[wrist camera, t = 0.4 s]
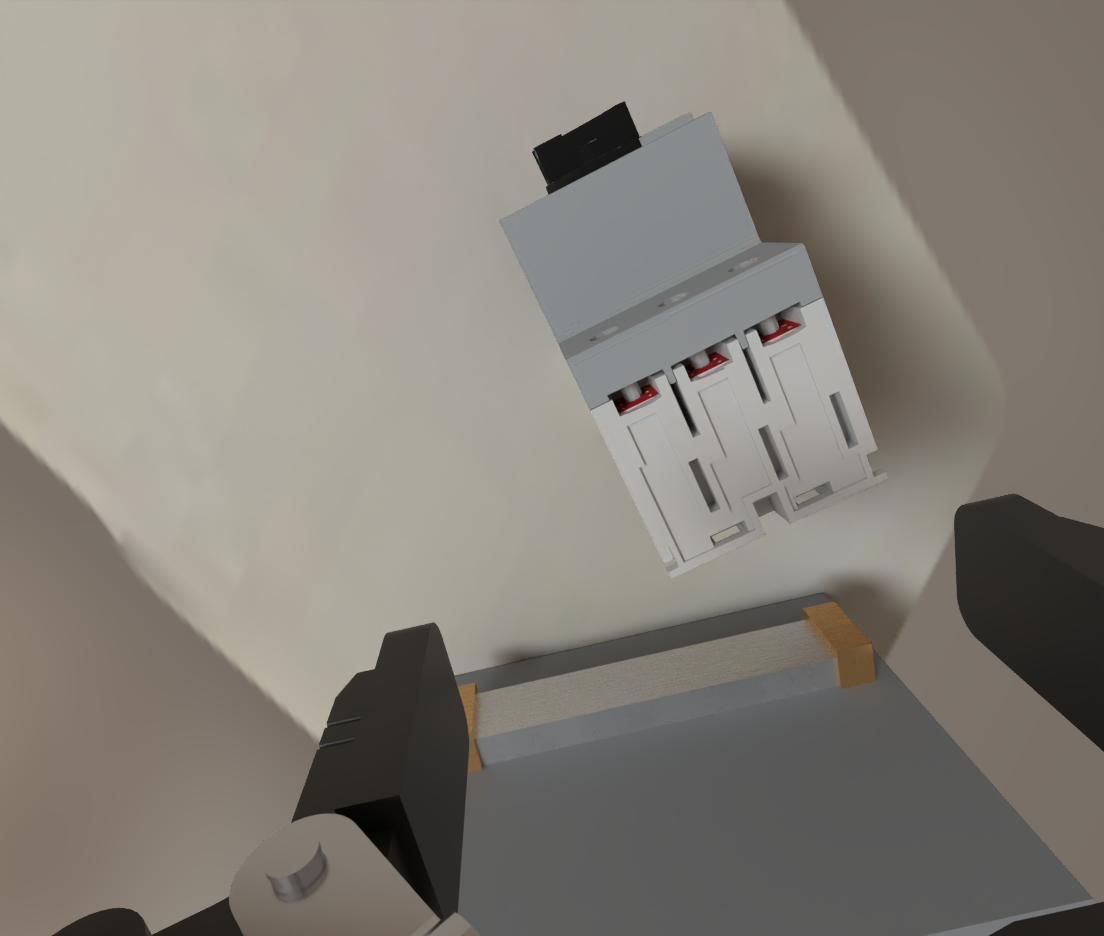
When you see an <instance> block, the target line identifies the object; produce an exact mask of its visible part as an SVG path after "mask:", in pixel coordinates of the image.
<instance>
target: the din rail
mask: <svg viewBox="0 0 1104 936" xmlns="http://www.w3.org/2000/svg"><path fill="white" fill-rule="evenodd" d="M803 614H804V620H802V621H797V622H793V623H788V624H784V625H780V626H775V627H771V628H766V629H762V630H757V631H753V632H749V633H744V634H740V635H735V636H731V637H726V638H722V639H717V640H713V641H709V642H704V643H700V644H695V645H691V646H686V647H682V648H678V649H673V650H669V651H664V652H660V653H655V654H651V655H647V656H642V657H638V658H633V659H629V660H624V661H620V662H616V663H611V664H607V665H602V666H598V667H593V668H589V669H585V670H580V671H576V672H571V673H567V674H562V675H558V676H554V677H549V678H545V679H540V680H536V681H531V682H527V683H523V684H518V685H514V686H509V687H505V688H500V689H496V690H491V691H487V692H483V693H478V689H477V686H476V683H470V684H466V685H462V686H457V687H458V690H459V693H460V696H461V699H462V703H463V706H464V710H465V714H466V719H467V725H468V733H469V759H468V772H473V771H477V770H482V766H483V765H487V764H492V763H496V762H501V761H505V760H510V759H514V758H519V757H523V756H528V755H532V754H537V753H541V752H545V751H550V750H554V749H559V748H563V747H568V746H572V745H577V744H581V743H586V742H590V741H595V740H599V739H603V738H608V737H612V736H617V735H621V734H626V733H630V732H635V731H639V730H644V729H648V728H653V727H657V726H661V725H666V724H670V723H675V722H679V721H684V720H688V719H693V718H697V717H702V716H706V715H711V714H715V713H719V712H724V711H728V710H733V709H737V708H742V707H746V706H751V705H755V704H760V703H764V702H769V701H773V700H777V699H782V698H786V697H791V696H795V695H800V694H804V693H809V692H813V691H818V690H822V689H827V688H831V687H836V686H839V687H840V688H841V689H843V688H848V687H852V686H857V685H861V684H866V683H870V682H874V681H876V679H875V669H874V659H873V649H872V643H871V642H870V641H869V640H868V639H867V638H866V636H865V635H864V634H863V633H862V632H861V631H860V630H859V629H858V627H857V626H856V625H855V624H854V623H853V622H852V621H851V620H850V618H849V617H848V616H847V615H846V614H845V613H844V612H843V611H842V610H841V608H840V607H839V606H838V605H837V604H836V603H835V602H834V601H833V602H829V603H825V604H820V605H816V606H811V607H807V608H803Z"/></svg>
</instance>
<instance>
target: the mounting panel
mask: <svg viewBox="0 0 1104 936" xmlns="http://www.w3.org/2000/svg"><path fill="white" fill-rule="evenodd" d="M829 602H831V601H830V600H829V598H828V597H827V596H826V595H825V594H824V593H820V594H815V595H811V596H806V597H802V598H797V599H793V600H789V601H784V602H780V603H775V604H771V605H767V606H762V607H758V608H753V609H749V610H744V611H740V612H736V613H731V614H727V615H722V616H718V617H713V618H709V619H705V620H700V621H696V622H691V623H687V624H683V625H678V626H674V627H669V628H665V629H660V630H656V631H652V632H647V633H643V634H638V635H634V636H629V637H625V638H621V639H616V640H612V641H607V642H603V643H599V644H594V645H590V646H585V647H581V648H576V649H572V650H568V651H563V652H559V653H554V654H550V655H545V656H541V657H537V658H532V659H528V660H523V661H519V662H515V663H510V664H506V665H501V666H497V667H492V668H488V669H484V670H479V671H475V672H470V673H466V674H461V675H457V676H454V677H455V680H456V683H457V686H462V685H466V684H470V683H476V686H477V689H478V693H483V692H487V691H491V690H496V689H500V688H505V687H509V686H514V685H518V684H523V683H527V682H531V681H536V680H540V679H545V678H549V677H554V676H558V675H562V674H567V673H571V672H576V671H580V670H585V669H589V668H593V667H598V666H602V665H607V664H611V663H616V662H620V661H624V660H629V659H633V658H638V657H642V656H647V655H651V654H655V653H660V652H664V651H669V650H673V649H678V648H682V647H686V646H691V645H695V644H700V643H704V642H709V641H713V640H717V639H722V638H726V637H731V636H735V635H740V634H744V633H749V632H753V631H757V630H762V629H766V628H771V627H775V626H780V625H784V624H788V623H793V622H797V621H802V620H804V614H803V608H807V607H811V606H816V605H820V604H825V603H829ZM872 649H873V648H872ZM873 659H874V669H875V679H876V681H874V682H870V683H866V684H861V685H857V686H852V687H848V688H843V689H841V688H840V687H839V686H836V687H831V688H827V689H822V690H818V691H813V692H809V693H804V694H800V695H795V696H791V697H786V698H782V699H777V700H773V701H769V702H764V703H760V704H755V705H751V706H746V707H742V708H737V709H733V710H728V711H724V712H719V713H715V714H711V715H706V716H702V717H697V718H693V719H688V720H684V721H679V722H675V723H670V724H666V725H661V726H657V727H653V728H648V729H644V730H639V731H635V732H630V733H626V734H621V735H617V736H612V737H608V738H603V739H599V740H595V741H590V742H586V743H581V744H577V745H572V746H568V747H563V748H559V749H554V750H550V751H545V752H541V753H537V754H532V755H528V756H523V757H519V758H514V759H510V760H505V761H501V762H496V763H492V764H487V765H483V766H482V770H477V771H473V772H468V774H467V788H466V802H465V817H464V831H463V845H462V860H461V874H460V888H459V903H458V914H459V915H460V916H462V917H463V918H464V919H465V920H466V921H467V922H468V923H469V924H470V925H471V926H472V927H473V928H474V929H475V930H476V931H477V932H478V933H479V935H480V936H989V935H991V934H992V933H994V932H996V931H998V930H999V929H1001V928H1003V927H1005V926H1007V925H1008V924H1010V923H1012V922H1014V921H1018V920H1023V919H1027V918H1032V917H1036V916H1041V915H1046V914H1050V913H1055V912H1060V911H1064V910H1069V909H1073V908H1078V907H1083V906H1087V905H1092V904H1094V899H1093V897H1092V896H1091V895H1090V894H1089V893H1088V892H1087V891H1086V890H1085V889H1084V887H1083V886H1082V885H1081V884H1080V883H1079V882H1078V881H1077V879H1076V878H1075V877H1074V876H1073V875H1072V874H1071V873H1070V871H1069V870H1068V869H1067V868H1066V867H1065V866H1064V865H1063V864H1062V863H1061V861H1060V860H1059V859H1058V858H1057V857H1056V856H1055V855H1054V853H1053V852H1052V851H1051V850H1050V849H1049V848H1048V847H1047V845H1046V844H1045V843H1044V842H1043V841H1042V840H1041V839H1040V837H1038V835H1037V834H1036V833H1035V832H1034V831H1033V830H1032V828H1031V827H1030V826H1029V825H1028V824H1027V823H1026V822H1025V821H1024V819H1023V818H1022V817H1021V816H1020V815H1019V814H1018V813H1017V811H1016V810H1015V809H1014V808H1013V807H1012V806H1011V805H1010V804H1009V802H1008V801H1007V800H1006V799H1005V798H1004V797H1003V796H1002V794H1001V793H1000V792H999V791H998V790H997V789H996V788H995V786H994V785H993V784H992V783H991V782H990V781H989V780H988V779H987V777H985V775H984V774H983V773H982V772H981V771H980V770H979V768H978V767H977V766H976V765H975V764H974V763H973V762H972V760H971V759H970V758H969V757H968V756H967V755H966V754H965V753H964V751H963V750H962V749H961V748H960V747H959V746H958V745H957V743H956V742H955V741H954V740H953V739H952V738H951V737H950V736H949V734H948V733H947V732H946V731H945V730H944V729H943V728H942V726H941V725H940V724H939V723H938V722H937V721H936V720H935V719H934V717H933V716H932V715H931V714H930V713H929V712H928V711H927V709H926V708H925V707H924V706H923V705H922V704H921V703H920V702H919V701H918V699H917V698H916V697H915V696H914V695H913V694H912V693H911V691H910V690H909V689H908V688H907V687H906V686H905V685H904V683H903V682H902V681H901V680H900V679H899V678H898V677H897V676H896V675H895V673H894V672H893V671H892V670H891V669H890V668H889V666H888V665H887V664H886V663H885V662H884V661H883V660H882V659H881V657H880V656H879V655H878V654H877V653H876V652H875V651H874V649H873Z"/></svg>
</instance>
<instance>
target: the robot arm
mask: <svg viewBox="0 0 1104 936" xmlns="http://www.w3.org/2000/svg"><path fill="white" fill-rule="evenodd" d="M954 531H955V557H956V581H957V582H956V583H957V600H958V605H959V609H960V612H961V614H962V617H963V619H964V621H965V623H966V625H967V627H968V628H969V630H970V631H971V633H972V634H973V635H974V636H975V637H976V638H977V639H978V640H979V641H980V642H981V643H982V644H984V645H985V646H986V647H987V648H988V649H989V650H990V651H991V652H992V653H993V654H995V655H996V656H997V657H998V658H999V659H1000V660H1001V661H1002V662H1004V663H1005V664H1006V665H1007V666H1008V667H1009V668H1010V669H1012V670H1013V671H1014V672H1015V673H1016V674H1017V675H1019V677H1020V678H1022V679H1023V680H1024V681H1025V682H1026V683H1027V684H1028V685H1030V686H1031V687H1032V688H1033V689H1034V690H1035V691H1036V692H1037V693H1038V694H1040V695H1041V696H1042V697H1043V698H1044V699H1045V700H1046V701H1048V702H1049V703H1050V704H1051V705H1052V706H1053V707H1054V708H1055V709H1056V710H1058V711H1059V712H1060V713H1061V714H1062V715H1063V716H1064V717H1066V718H1067V719H1068V720H1069V721H1070V722H1071V723H1072V724H1073V725H1074V726H1075V727H1077V728H1078V729H1079V730H1080V731H1081V732H1082V733H1083V734H1085V735H1086V736H1087V737H1088V738H1089V739H1090V740H1091V741H1092V742H1094V743H1095V744H1096V745H1097V746H1098V747H1099V748H1100V749H1101V750H1102V751H1104V528H1101V527H1098V526H1094V525H1090V524H1086V523H1083V522H1079V521H1075V520H1071V519H1067V518H1064V517H1059V516H1057V515H1055V514H1053V513H1052V512H1050V511H1048V510H1046V509H1044V508H1042V507H1040V506H1038V505H1037V504H1035V503H1033V502H1031V501H1029V500H1027V499H1025V498H1024V497H1022V496H1019V495H1016V494H1009V495H1004V496H1000V497H995V498H991V499H987V500H982V501H978V502H974V503H969V504H964V505H962V506H960V507H959V508H958V509H957V511H956V514H955V519H954ZM319 746H320V749H319V750H317V752H316V755H315V758H314V760H313V763H312V766H311V769H310V771H309V774H308V777H307V780H306V783H305V786H304V788H303V791H302V794H301V797H300V799H299V802H298V805H297V808H296V811H295V813H294V816H293V819H292V822H291V824H288V825H286V826H285V827H283V828H281V829H280V830H278V831H276V832H275V833H273V834H272V835H271V836H269V837H268V838H267V839H265V840H264V841H263V842H262V843H261V844H260V845H258V846H257V847H256V848H255V849H254V850H253V852H251V854H250V855H249V856H248V857H247V858H246V860H245V861H244V862H243V864H242V865H241V867H240V868H239V870H238V871H237V873H236V875H235V877H234V880H233V882H232V885H231V889H230V894H229V897H227V898H226V899H224V900H222V901H220V902H218V903H216V904H215V905H213V906H211V907H209V908H206V909H205V910H202V911H200V912H198V913H196V914H194V915H192V916H190V917H188V918H186V919H184V920H182V921H180V922H178V923H175V924H174V925H171V926H169V927H167V928H165V929H163V930H161V931H159V932H157V933H155V934H153V935H151V933H150V931H149V929H148V927H147V925H146V924H145V922H144V920H143V918H142V917H141V916H140V915H139V914H138V913H137V912H135V911H133V910H131V909H125V908H112V909H107V910H102V911H99V912H96V913H93V914H90V915H88V916H86V917H83V918H81V919H79V920H77V921H75V922H74V923H71V924H70V925H68V926H66V927H64V928H63V929H61V930H60V931H58V932H57V933H55V934H54V935H52V936H480V935H479V933H478V932H477V931H476V930H475V929H474V928H473V927H472V926H471V925H470V924H469V923H468V922H467V921H466V920H465V919H464V918H463V917H462V916H460V915H459V914H458V903H459V888H460V874H461V860H462V845H463V831H464V817H465V802H466V788H467V774H468V759H469V733H468V725H467V719H466V714H465V710H464V706H463V703H462V699H461V696H460V693H459V690H458V687H457V683H456V680H455V677H454V674H453V670H452V667H451V664H450V661H449V658H448V654H447V651H446V648H445V645H444V642H443V638H442V635H441V633H440V630H439V628H438V626H437V625H436V624H435V623H429V624H425V625H420V626H416V627H411V628H407V629H402V630H398V631H393V632H389V633H386V635H385V637H384V640H383V643H382V647H381V650H380V653H379V657H378V660H377V664H376V667H375V669H373V670H369V671H364V672H360V673H357V674H356V675H355V676H354V677H353V678H352V679H351V681H350V682H349V683H348V684H347V685H346V686H345V688H344V689H343V690H342V691H341V692H340V693H339V695H338V696H337V697H336V698H335V701H334V704H333V707H332V710H331V712H330V715H329V718H328V721H327V728H325V729H324V732H323V735H322V738H321V740H320V743H319ZM989 936H1104V902H1101V903H1097V904H1092V905H1087V906H1083V907H1078V908H1073V909H1069V910H1064V911H1060V912H1055V913H1050V914H1046V915H1041V916H1036V917H1032V918H1027V919H1023V920H1018V921H1014V922H1012V923H1010V924H1008V925H1007V926H1005V927H1003V928H1001V929H999V930H998V931H996V932H994V933H992V934H991V935H989Z"/></svg>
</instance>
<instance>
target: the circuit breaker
mask: <svg viewBox="0 0 1104 936" xmlns="http://www.w3.org/2000/svg"><path fill="white" fill-rule="evenodd" d="M533 149H534V151H533V152H532V153H533V155H534V157H535V159H536V161H537V163H538V166H539V168H540V170H541V172H542V174H543V176H544V178H545V180H546V182H547V184H548V186H547V187H546V189H547V191H548V194H549V195H547V196H546V197H544V198H542V199H540V200H538V201H536V202H534V203H532V204H530V205H528V206H526V207H524V208H522V209H520V210H518V211H516V212H515V213H513V214H511V215H509V216H507V217H505V218H503V219H501V220H499V222H500V224H501V226H502V228H503V230H504V232H505V234H506V236H507V238H508V240H509V242H510V244H511V247H512V249H513V251H514V253H515V255H516V257H517V259H518V261H519V263H520V265H521V267H522V269H523V271H524V273H525V276H526V278H527V280H528V282H529V284H530V286H531V288H532V290H533V292H534V294H535V296H536V298H537V300H538V302H539V305H540V307H541V309H542V311H543V313H544V315H545V317H546V319H547V321H548V323H549V325H550V327H551V329H552V331H553V334H554V336H555V338H556V340H557V342H558V344H559V346H560V348H561V351H562V353H563V355H564V357H565V359H566V362H567V364H568V366H569V368H570V370H571V372H572V374H573V376H574V378H575V380H576V382H577V384H578V386H579V389H580V391H581V393H582V395H583V397H584V399H585V401H586V403H587V405H588V407H589V409H590V411H591V413H592V415H593V417H594V420H595V422H596V424H597V426H598V428H599V430H600V432H601V434H602V436H603V438H604V440H605V442H606V444H607V446H608V449H609V451H610V453H611V455H612V457H613V459H614V461H615V463H616V465H617V467H618V469H619V471H620V473H621V475H622V478H623V480H624V482H625V484H626V486H627V488H628V490H629V492H630V494H631V496H632V498H633V500H634V502H635V504H636V507H637V509H638V511H639V513H640V515H641V517H642V519H643V521H644V523H645V525H646V527H647V529H648V531H649V533H650V536H651V538H652V540H653V542H654V544H655V546H656V548H657V550H658V552H659V554H660V556H661V558H662V560H663V562H664V563H666V562H668V561H670V560H672V559H675V561H676V564H673V565H671V566H669V567H667V568H666V569H667V571H668V573H669V575H670V577H671V578H673V577H676V576H678V575H680V574H682V573H684V572H686V571H689V570H691V569H693V568H695V567H697V566H700V565H702V564H704V563H706V562H708V561H710V560H713V559H715V558H717V557H719V556H721V555H723V554H726V553H728V552H730V551H732V550H734V549H737V548H739V547H741V546H743V545H745V544H747V543H750V542H752V541H754V540H756V539H758V538H760V537H763V536H765V535H766V533H765V531H764V528H763V526H762V524H761V521H760V519H759V517H760V516H762V515H765V514H767V513H769V512H771V511H773V510H774V511H776V512H777V513H778V514H779V515H780V516H782V517H783V518H784V519H785V520H786V521H788V522H789V523H790V524H791V523H793V522H795V521H797V520H800V519H802V518H804V517H806V516H808V515H810V514H813V513H815V512H817V511H819V510H821V509H823V508H826V507H828V506H830V505H832V504H834V503H837V502H839V501H841V500H843V499H845V498H847V497H850V496H852V495H854V494H856V493H858V492H860V491H863V490H865V489H867V488H869V487H871V486H873V485H876V484H878V483H880V482H882V481H884V480H887V479H888V477H887V474H886V472H885V471H883V470H881V469H879V470H877V471H875V472H872V469H871V467H870V464H869V461H868V458H867V456H866V455H867V454H870V453H872V452H874V451H876V450H878V449H877V446H876V443H875V440H874V438H873V435H872V432H871V429H870V426H869V424H868V421H867V418H866V415H865V412H864V410H863V407H862V404H861V401H860V399H859V396H858V393H857V390H856V387H855V385H854V382H853V379H852V376H851V373H850V371H849V368H848V365H847V362H846V359H845V357H844V354H843V351H842V348H841V345H840V343H839V340H838V337H837V334H836V331H835V329H834V326H833V323H832V320H831V318H830V315H829V312H828V309H827V306H826V304H825V301H824V298H823V295H822V292H821V290H820V287H819V284H818V281H817V278H816V276H815V273H814V270H813V267H812V265H811V262H810V259H809V256H808V253H807V251H806V248H805V246H804V245H803V243H773V242H761V240H760V239H759V236H758V234H757V231H756V228H755V226H754V223H753V220H752V218H751V215H750V213H749V210H748V207H747V205H746V202H745V199H744V197H743V194H742V191H741V189H740V186H739V184H738V181H737V178H736V176H735V173H734V170H733V168H732V165H731V163H730V160H729V157H728V155H727V152H726V149H725V147H724V144H723V141H722V139H721V136H720V134H719V131H718V128H717V126H716V123H715V120H714V118H713V115H712V113H711V112H709V113H707V114H704V115H703V116H701V117H699V118H697V119H695V120H694V119H693V116H692V114H691V112H689V113H687V114H685V115H683V116H681V117H679V118H677V119H675V120H673V121H671V122H669V123H667V124H665V125H663V126H661V127H659V128H658V129H656V130H654V131H652V132H650V133H648V134H646V135H644V136H641V137H639V134H638V132H637V129H636V127H635V125H634V122H633V120H632V118H631V115H630V113H629V110H628V108H627V106H626V103H625V102H622V103H619V104H617V105H615V106H614V107H612V108H610V109H609V110H607V111H605V112H604V113H602V114H601V115H599V116H597V117H595V118H594V119H592V120H590V121H588V122H586V123H585V124H583V125H581V126H579V127H578V128H576V129H574V130H572V131H570V132H569V133H567V134H565V135H563V136H562V135H561V134H560V135H558V136H556V137H554V138H552V139H550V140H548V141H547V142H545V143H543V144H541V145H539V146H537V147H535V148H533ZM813 489H815V490H816V491H817V492H818V493H820V495H818V496H816V497H813V498H811V499H809V500H807V501H805V502H803V503H800V504H797V503H796V502H795V499H794V498H795V497H798V496H800V495H802V494H804V493H806V492H808V491H810V490H813ZM735 525H736V526H737V527H738V529H739V530H740V532H738V533H736V534H733V535H731V536H729V537H727V538H725V539H723V540H720V541H718V542H716V543H715V542H714V540H713V539H712V537H711V536H713V535H715V534H718V533H720V532H722V531H724V530H726V529H728V528H731V527H733V526H735Z"/></svg>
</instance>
